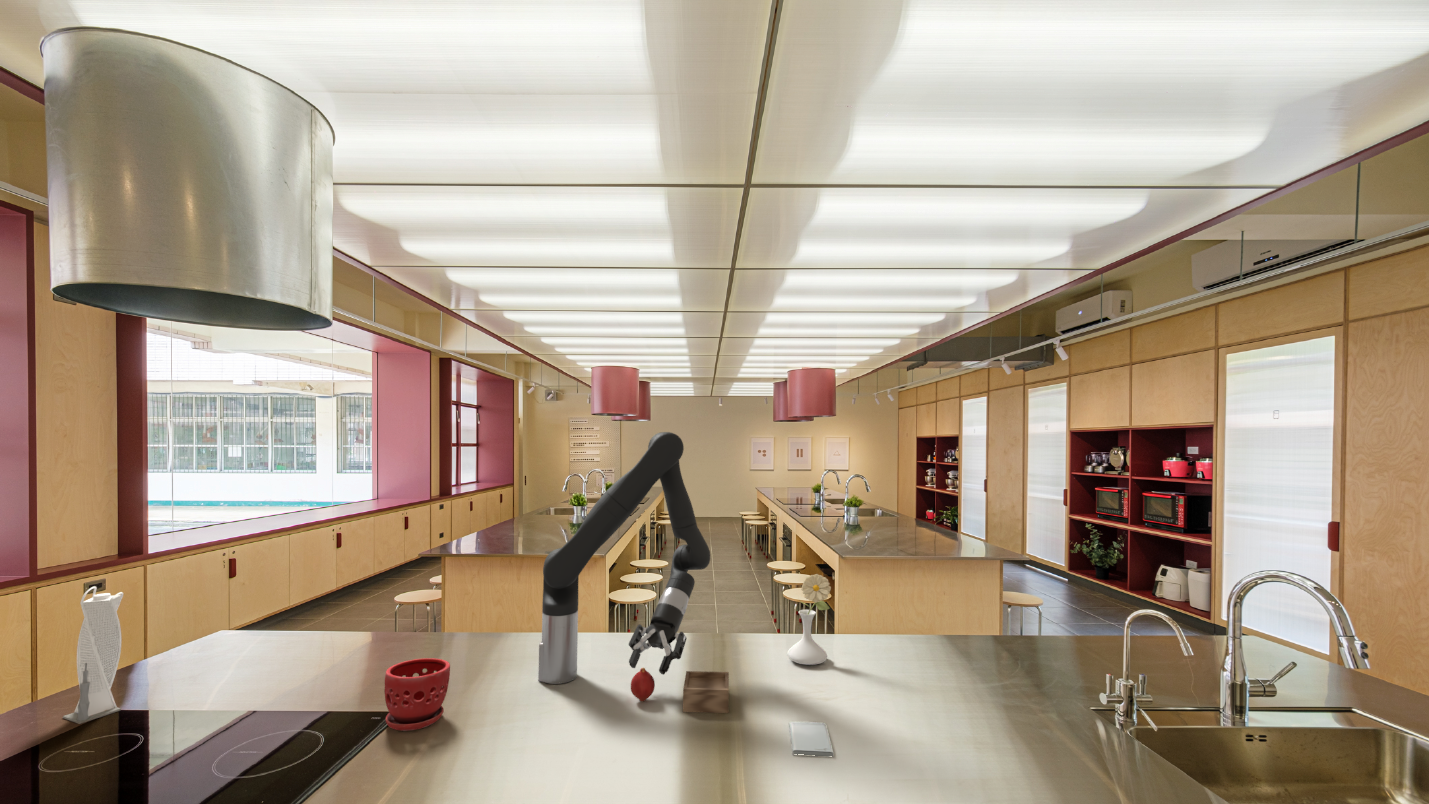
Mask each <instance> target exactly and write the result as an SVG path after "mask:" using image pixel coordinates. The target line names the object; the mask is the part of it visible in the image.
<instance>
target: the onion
mask: <svg viewBox="0 0 1429 804" xmlns="http://www.w3.org/2000/svg"><path fill="white" fill-rule="evenodd" d="M654 679H655V678H654V676H652V675H651V672H649V671H647V670H646V667H641V668H640V670H639V671H637V673H635V674H634V675H633V677H632V678H631V682H630V692H631V694H632V695H633V697H635V698H636V699H638V700H639V701H640V702H642V703H643V702H645V701H646V700H647V699H649V698H651V696H652V695H653V694H654V692H655V680H654Z"/></svg>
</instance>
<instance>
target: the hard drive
mask: <svg viewBox="0 0 1429 804" xmlns="http://www.w3.org/2000/svg"><path fill="white" fill-rule="evenodd" d="M788 727H789V736H790V737H791V738H790V744H792V746H791V752H793V754H797V755H798V754H804V755H815V756H814V757H818V756H832V757H831V758H834V751H833V750H834V749H833V747H832V742H831V738H830V734H829V731H828V727H827V724H826V723H825V722H818V721H817V722H816V721H815V722H814V721H794V720H792V721H789V722H788ZM793 754H792V755H793Z"/></svg>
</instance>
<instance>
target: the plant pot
mask: <svg viewBox="0 0 1429 804" xmlns="http://www.w3.org/2000/svg"><path fill="white" fill-rule="evenodd" d="M423 670H426V671H425V672H424V671H423ZM450 673H451V664H450V662H449V661H447V660H445V659H441V658H432V657H431V658H430V657H425V658H415V659H409V660H405V661H402V662H398V663H396V664H394V665H391V666H390V667H388V668H387V669H386V671H385V675H384V689H383V690H384V701H385V704H386V708H387V711H388V713H387V715H386V716H385V723H386V724H387V726H388V727H389V728H390V729H393V730H395V731H401V732H408V731H415V730H420V729H423V728H426V727H429V726H431V725H433V724H435V723H436V722H438V721H439V720H440V718H441V717H442V716H443V714H444V706H442V704H444V701H445V698H446V696H447V693H448V688H449V682H450V676H451V674H450ZM415 674H418V675H417V676H414V675H415Z"/></svg>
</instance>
